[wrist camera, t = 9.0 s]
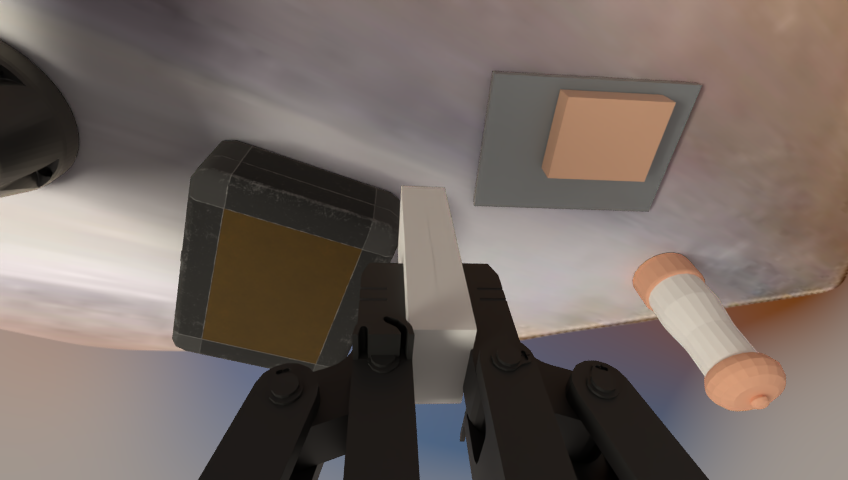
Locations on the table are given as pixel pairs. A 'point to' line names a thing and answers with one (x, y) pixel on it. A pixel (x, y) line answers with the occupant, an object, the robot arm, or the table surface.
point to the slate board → (528, 135)
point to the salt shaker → (708, 334)
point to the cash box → (277, 258)
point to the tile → (605, 135)
